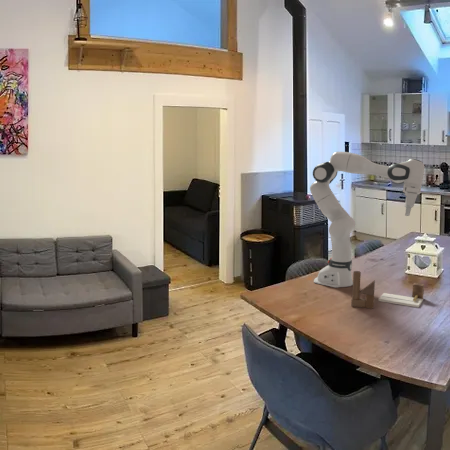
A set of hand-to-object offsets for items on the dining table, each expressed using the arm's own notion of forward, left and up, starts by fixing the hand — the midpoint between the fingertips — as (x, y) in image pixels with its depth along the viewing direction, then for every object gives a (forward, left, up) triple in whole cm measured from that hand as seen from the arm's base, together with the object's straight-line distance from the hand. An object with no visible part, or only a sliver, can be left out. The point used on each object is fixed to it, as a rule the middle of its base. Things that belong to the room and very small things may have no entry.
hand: (407, 215), depth 272 cm
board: (+2, -13, -43) cm, 45 cm away
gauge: (+9, -9, -43) cm, 45 cm away
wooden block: (-13, -31, -43) cm, 55 cm away
